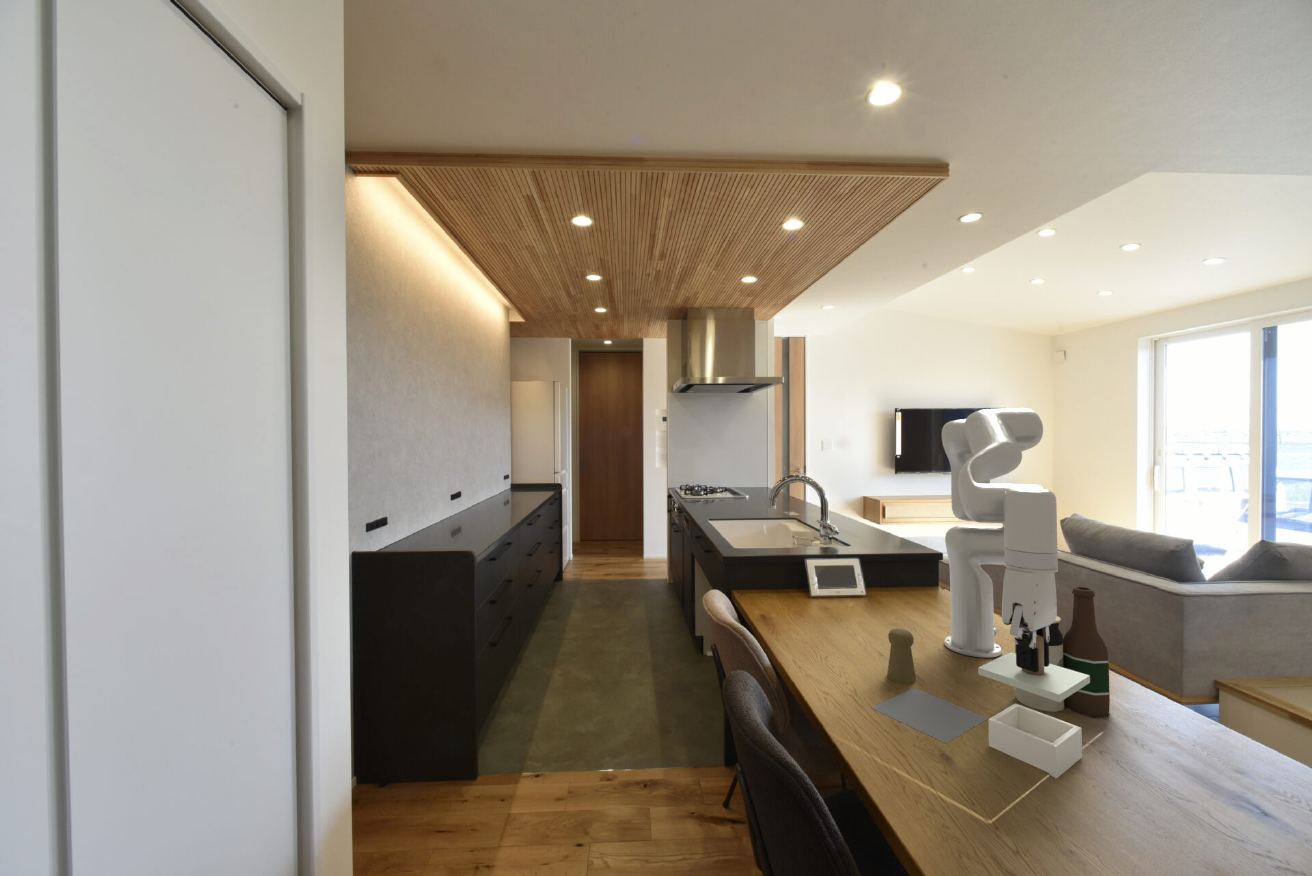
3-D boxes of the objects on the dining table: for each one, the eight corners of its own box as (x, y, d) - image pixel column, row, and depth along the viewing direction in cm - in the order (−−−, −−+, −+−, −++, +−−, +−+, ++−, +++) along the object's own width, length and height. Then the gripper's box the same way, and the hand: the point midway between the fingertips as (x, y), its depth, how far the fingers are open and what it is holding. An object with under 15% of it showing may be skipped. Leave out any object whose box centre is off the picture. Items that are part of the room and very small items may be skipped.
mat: (914, 689, 113) (914, 687, 113) (988, 720, 100) (988, 718, 100) (871, 709, 105) (870, 707, 105) (946, 745, 92) (945, 743, 92)
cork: (919, 686, 114) (919, 636, 114) (890, 684, 116) (889, 634, 116) (912, 674, 120) (911, 626, 120) (884, 672, 121) (883, 625, 122)
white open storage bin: (1015, 730, 97) (1015, 703, 97) (1082, 757, 88) (1081, 727, 88) (988, 747, 91) (988, 719, 91) (1056, 778, 83) (1055, 746, 83)
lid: (1011, 658, 98) (1010, 620, 98) (1089, 682, 88) (1088, 639, 88) (978, 674, 92) (977, 633, 92) (1059, 702, 82) (1058, 656, 82)
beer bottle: (1100, 702, 106) (1097, 584, 107) (1120, 721, 99) (1117, 595, 99) (1054, 696, 109) (1052, 581, 109) (1070, 715, 101) (1068, 592, 102)
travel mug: (1007, 698, 108) (1005, 612, 109) (1031, 690, 112) (1029, 606, 112) (1048, 716, 101) (1046, 623, 101) (1073, 708, 104) (1071, 618, 104)
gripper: (1027, 550, 98) (1029, 648, 97) (983, 562, 89) (985, 670, 89) (1076, 557, 91) (1078, 662, 91) (1033, 570, 82) (1036, 687, 82)
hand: (1032, 665), depth 90 cm, fingers closed on lid, 3 cm apart
